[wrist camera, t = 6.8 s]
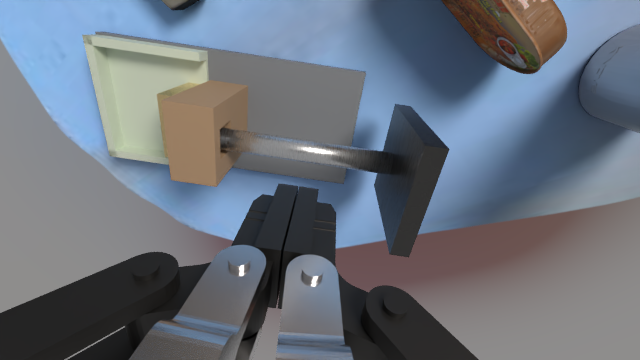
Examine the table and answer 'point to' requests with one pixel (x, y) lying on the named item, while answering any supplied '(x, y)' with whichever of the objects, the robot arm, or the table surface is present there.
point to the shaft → (370, 168)
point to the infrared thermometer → (179, 4)
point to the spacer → (160, 97)
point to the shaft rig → (217, 105)
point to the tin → (513, 30)
